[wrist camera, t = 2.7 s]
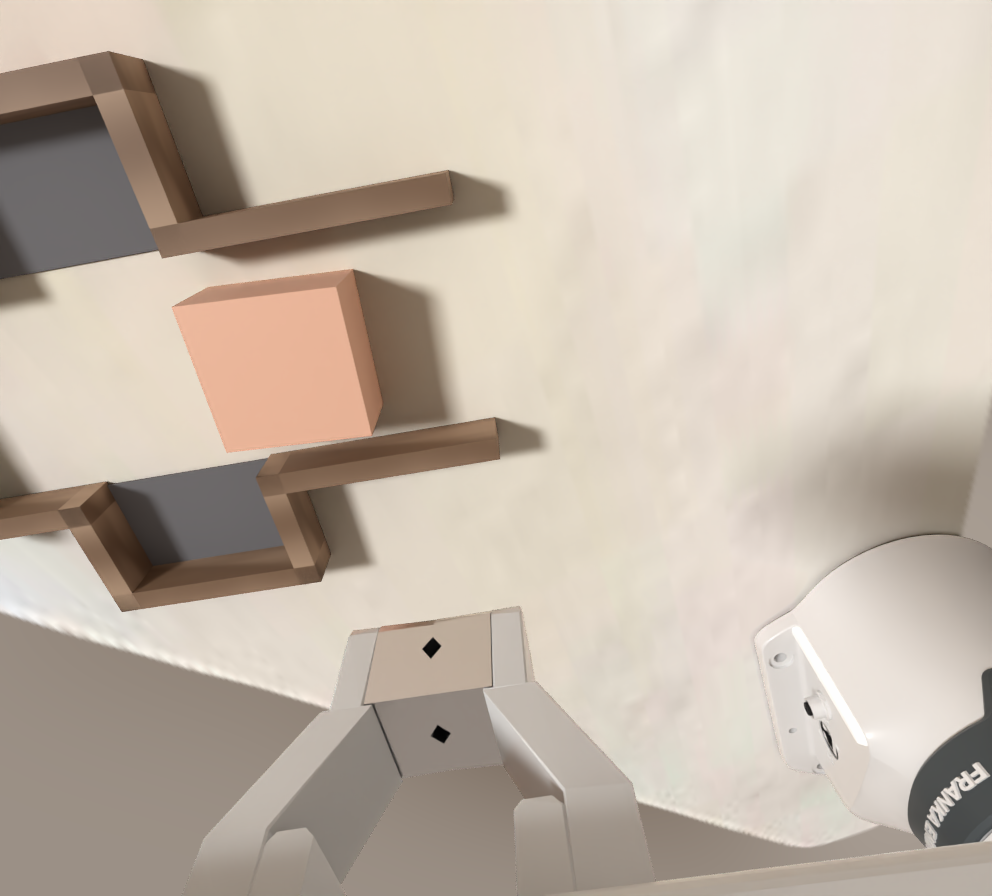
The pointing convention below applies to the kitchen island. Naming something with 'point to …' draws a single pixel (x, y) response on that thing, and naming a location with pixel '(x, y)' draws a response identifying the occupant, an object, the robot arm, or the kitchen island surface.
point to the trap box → (173, 231)
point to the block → (283, 360)
